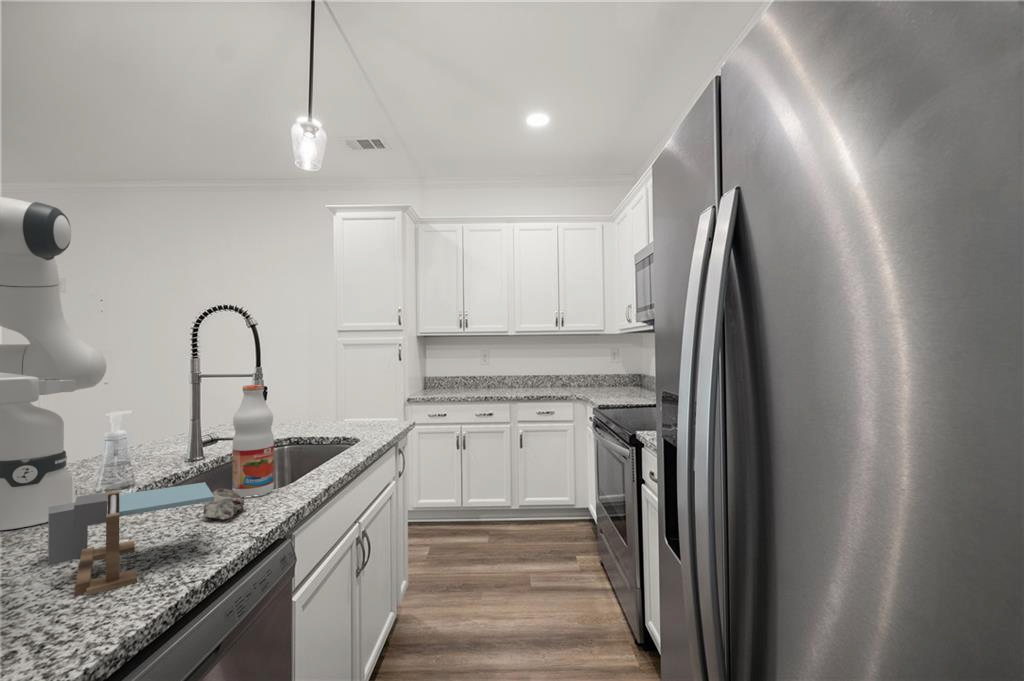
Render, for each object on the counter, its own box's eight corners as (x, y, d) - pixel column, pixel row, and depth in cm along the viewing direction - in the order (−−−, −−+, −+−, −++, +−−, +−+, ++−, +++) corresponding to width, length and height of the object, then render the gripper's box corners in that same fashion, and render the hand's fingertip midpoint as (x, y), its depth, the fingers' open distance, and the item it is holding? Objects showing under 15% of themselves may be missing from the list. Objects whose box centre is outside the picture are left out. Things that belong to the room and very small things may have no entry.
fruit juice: (256, 486, 126) (256, 383, 127) (282, 489, 123) (281, 384, 123) (223, 496, 118) (223, 386, 118) (249, 500, 114) (249, 387, 115)
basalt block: (48, 556, 84) (48, 507, 84) (85, 548, 88) (85, 500, 88) (48, 565, 81) (48, 513, 81) (87, 556, 84) (87, 506, 84)
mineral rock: (235, 523, 100) (235, 502, 100) (193, 527, 98) (193, 506, 98) (252, 501, 114) (252, 483, 114) (215, 505, 112) (215, 487, 112)
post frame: (82, 555, 84) (82, 495, 84) (134, 544, 89) (134, 487, 89) (74, 598, 70) (75, 525, 70) (137, 582, 74) (137, 513, 74)
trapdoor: (77, 512, 82) (78, 491, 82) (204, 492, 94) (204, 474, 94) (71, 534, 72) (72, 511, 72) (214, 509, 84) (214, 489, 84)
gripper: (-64, 369, 57) (85, 365, 68) (-76, 367, 69) (52, 364, 80) (-65, 420, 57) (84, 408, 68) (-77, 409, 69) (52, 400, 80)
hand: (67, 384), depth 74 cm, fingers open, 8 cm apart
